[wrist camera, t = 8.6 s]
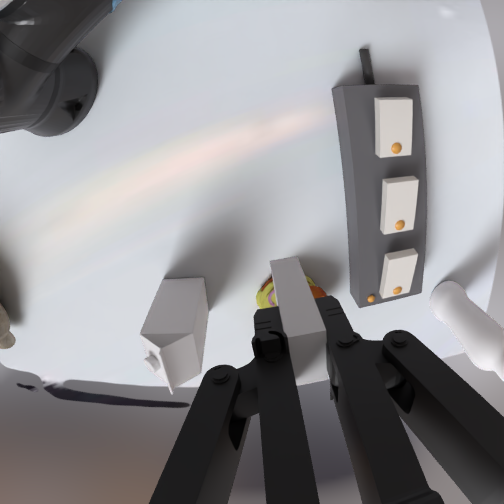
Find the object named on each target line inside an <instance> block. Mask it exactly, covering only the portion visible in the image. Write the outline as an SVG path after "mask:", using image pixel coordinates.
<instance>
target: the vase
mask: <svg viewBox="0 0 504 504" xmlns="http://www.w3.org/2000/svg"><path fill="white" fill-rule="evenodd" d="M9 330H10V320H9V317H8V314H7V312H6V311H5V309H4V307H3V306H2V305H1V304H0V349H8V348H11V347H12V346H13V345H14V344H15V337H14V336H13V334H12V333H11V332H10V331H9Z"/></svg>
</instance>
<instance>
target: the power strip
mask: <svg viewBox="0 0 504 504" xmlns="http://www.w3.org/2000/svg"><path fill="white" fill-rule="evenodd" d="M359 52H360V57H361V62H362V67H363V73H364V78H365V84H366V85H348V86H340V87H337V88H334V89H332V95H333V101H334V107H335V114H336V120H337V128H338V135H339V143H340V151H341V159H342V168H343V178H344V188H345V200H346V212H347V227H348V244H349V266H350V293H351V295H352V297H353V298H354V300H355V302H356V303H357V305H358V307H359V308H362V307H366V306H371V305H375V304H379V303H383V302H388V301H392V300H396V299H400V298H404V297H408V296H412V295H416V294H419V293H421V292H422V283H423V272H424V260H425V244H426V218H427V182H426V156H425V141H424V129H423V119H422V110H421V101H420V94H419V87H418V85H375V83H374V77H373V72H372V66H371V61H370V56H369V51H368V49H360V50H359ZM383 97H407V98H410V99H412V100H413V116H412V148H411V155H406V156H394V157H383V158H380V157H378V156H377V155H376V154H375V99H374V98H383ZM406 176H414V177H416V178H417V179H418V180H419V182H418V193H417V203H416V212H415V220H414V227H413V230H407V231H402V232H396V233H391V234H385V235H384V234H383V233H382V231H381V230H380V222H381V206H382V184H383V179H388V178H397V177H406ZM412 248H414V249H415V251H416V252H417V253H418V257H417V262H416V266H415V271H414V275H413V279H412V283H411V287H410V291H409V293H405V294H401V295H396V296H392V297H388V298H384V299H382V297H381V295H380V293H379V291H380V285H381V278H382V272H383V265H384V258H385V254H387V253H392V252H397V251H402V250H407V249H412Z"/></svg>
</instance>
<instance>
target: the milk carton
mask: <svg viewBox="0 0 504 504" xmlns="http://www.w3.org/2000/svg"><path fill="white" fill-rule="evenodd" d="M208 315H209V309H208V302H207V295H206V288H205V281H204V277H200V278H182V279H163V280H162V282H161V284H160V286H159V289H158V291H157V293H156V296H155V298H154V300H153V303H152V305H151V307H150V310H149V312H148V315H147V317H146V320H145V322H144V324H143V327H142V329H141V332H140V336H141V340H142V343H143V346H144V349H145V352H146V355H147V358H145V359H144V363H145V365H146V367H147V368H148V369H149V370H150V371H151V372H152V373H153V374H154V375H156V376H157V377H158V378H159V379H161V380H162V381H163V382H165V383H166V384H167V385H168V386H169V389H170V392H171V394H173V391H174V388H176V387H178V386H180V385H181V384H183V383H185V382H187V381H188V380H190V379H192V378H194V377H195V376H197V375H199V374H201V370H202V362H203V354H204V346H205V338H206V330H207V323H208Z"/></svg>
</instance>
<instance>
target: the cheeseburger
mask: <svg viewBox="0 0 504 504" xmlns="http://www.w3.org/2000/svg"><path fill="white" fill-rule="evenodd" d="M305 277H306V280H307V282H308V285H309V287H310V290H311V292H312V295H313V297H314V299H315V298H320V297H325V296H327V295H326V293H325V292H324V291H323V290H322V289H321V288H320V287H317V286H315V283H314V282H313V281H312V280H311V279H310V278H309V277H308V276H306V275H305ZM256 300H257V304H258V306H259V308H260V309H263V308H269V307H275V306H277V302H276V296H275V290H274V284H273V278H271V279H269V280H268V281H267V282H266V283H265V285H264V286H263V287H262V288H261V289H260V290H259V291H258V293H257V295H256Z"/></svg>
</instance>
